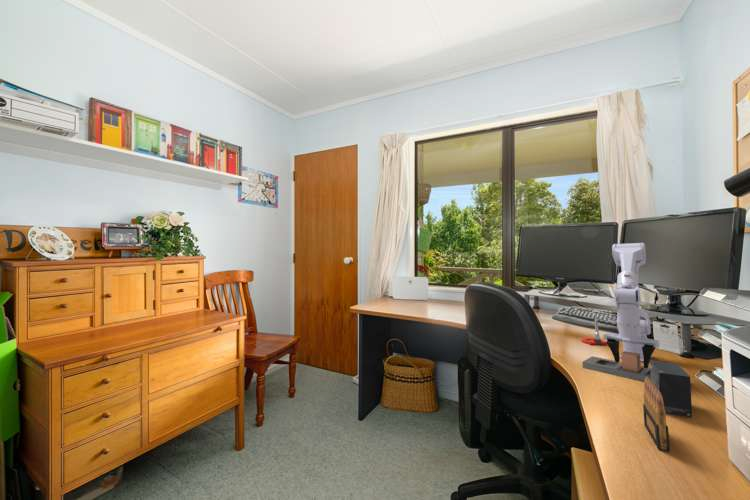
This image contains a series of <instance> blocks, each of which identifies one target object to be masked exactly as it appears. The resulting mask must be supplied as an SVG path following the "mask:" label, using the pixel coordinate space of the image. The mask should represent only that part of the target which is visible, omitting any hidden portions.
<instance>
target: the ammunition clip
mask: <svg viewBox="0 0 750 500" xmlns="http://www.w3.org/2000/svg"><path fill="white" fill-rule="evenodd" d="M643 383H644V384H643V385H644V386H643V387H644V388H643V389H644V390H643V403H642V404H643V405H642V406H643V410H642V411H643V422H644V424H643V425H644V427H645V429H646V431H647V433H648V432H649V433H648V435H649V436H650V438H651V440H652V439H653V440H652V442H653V443H654V444H655V445H654V446H655V447H656V446H657V447H656V448H657V450H658V451H663V452H667V453H668V452H669V453H671V449H670V447H671V446H670V437H669V435H670V434H669V426H668V425H667V413H665V410H664V403H663V398H662V395H661V393H660V391H658V389H657V388H656V387H655V385H653V383H652V382H651V380H650V379H649V378H648V377H647V376H646V378H645V382H644V381H643Z"/></svg>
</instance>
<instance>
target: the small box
mask: <svg viewBox="0 0 750 500" xmlns="http://www.w3.org/2000/svg"><path fill="white" fill-rule="evenodd" d="M649 366H650V367H649V368H650V370H651V382H652V383H653V385H655V387H656V388H657V389H658V391H660V393H661V395H662V398H663V403H664V410H665V413H666V415H667V414H668V415H673V416H678V417H684V418H690V419H693V409H692V408H693V407H692V386H691V385H692V384H691V375H690V374H689V373H687V372H686V371H685V369H683V367H682V366H681V365H680V364H679V363H673V362H666V361H665V362H664V361H658V360H651V359H650V361H649Z"/></svg>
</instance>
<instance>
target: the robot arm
mask: <svg viewBox="0 0 750 500" xmlns="http://www.w3.org/2000/svg"><path fill="white" fill-rule="evenodd" d="M611 246H612V247H611V249H612V250H611V251H612V252H611V253H612V258H613V262H614V263H615V265H616V266H619V267H621V268H620V269H621V272H618V274H617V280H616V281H617V282H616V289H614V302H615V306H616V308H615V309H616V311H617V317H616V328H617V329H616V330H617V331H618V333H608V332H604V333H603V340H606V341H605V342H606V343H607V345H606V346H607V347H608V348H609V350H610V351H611V354H612V355H613V358H614V361H615V362H617V363H618V362H621V358H622V357H621V354H620V342H622V353H623V352H624V351H629V352H634V353H640V362H642V363H643V367H644V368H646V369H647V368H650V367H649V366H650V360H651V359H652V357H653V353H654V351H655V350H656V349H657V348H658V347H659V341H658V340H654V339H651V338H648V337H647V336H649V335H650V334H652V333H651V332H652V331H651V329H652V328H651V319H650V314H649V313H648V312H646V311H645V310H643V309H641V308H640V306H641V293H640V288H639V273H638V272H639V269H640V267H641V266H643V265H645V264H646V262H647V260H646V259H647V256H646V255H647V254H646V244H645V243H644V242H636V243H635V242H634V243H613V244H612V245H611Z"/></svg>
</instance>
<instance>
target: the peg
mask: <svg viewBox="0 0 750 500" xmlns="http://www.w3.org/2000/svg"><path fill="white" fill-rule="evenodd" d="M620 355H621V357H620V358H621V362H622V369H626V370H630V371H635V372H641V366H642V365H641V362H642V361H640V353H634V352H629V351H624V352H623V351H622V352H621V354H620Z"/></svg>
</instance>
